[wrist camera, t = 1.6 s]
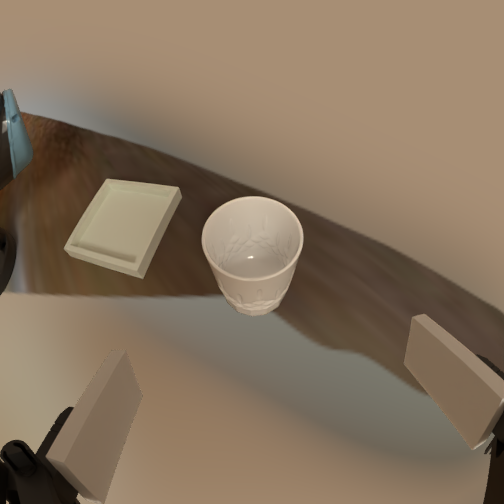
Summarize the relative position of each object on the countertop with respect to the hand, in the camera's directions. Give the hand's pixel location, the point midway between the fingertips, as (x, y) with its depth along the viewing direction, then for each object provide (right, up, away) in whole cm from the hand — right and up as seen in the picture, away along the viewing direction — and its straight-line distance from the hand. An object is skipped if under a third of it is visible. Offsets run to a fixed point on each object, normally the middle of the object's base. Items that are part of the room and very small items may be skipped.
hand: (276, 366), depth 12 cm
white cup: (-1, +1, +19) cm, 19 cm away
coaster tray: (-18, +8, +24) cm, 31 cm away
